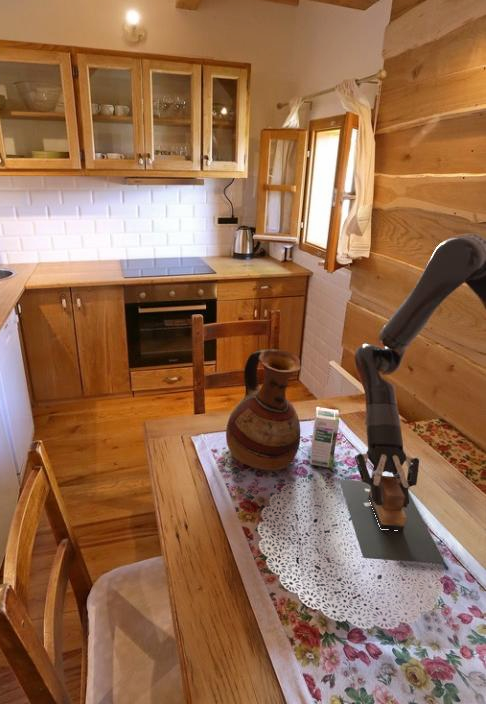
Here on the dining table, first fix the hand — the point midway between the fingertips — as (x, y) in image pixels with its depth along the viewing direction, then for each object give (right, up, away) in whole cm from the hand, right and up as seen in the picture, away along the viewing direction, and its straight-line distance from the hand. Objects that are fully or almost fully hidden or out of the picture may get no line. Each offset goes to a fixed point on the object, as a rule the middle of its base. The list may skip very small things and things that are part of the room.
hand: (391, 505), depth 87 cm
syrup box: (-10, +2, +21) cm, 24 cm away
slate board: (0, -4, +3) cm, 5 cm away
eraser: (0, -3, +3) cm, 5 cm away
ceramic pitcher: (-26, +4, +23) cm, 35 cm away
